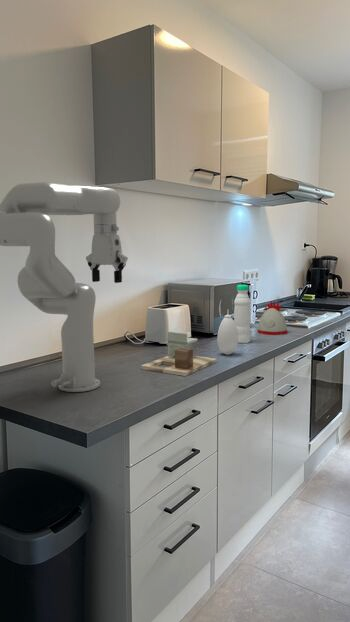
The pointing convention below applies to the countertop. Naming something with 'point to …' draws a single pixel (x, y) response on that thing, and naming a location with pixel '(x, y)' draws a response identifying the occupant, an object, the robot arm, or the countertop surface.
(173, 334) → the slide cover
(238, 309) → the water bottle
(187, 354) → the walnut block
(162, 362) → the puzzle board
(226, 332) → the sauce bottle
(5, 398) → the countertop surface
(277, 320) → the kitchen timer
